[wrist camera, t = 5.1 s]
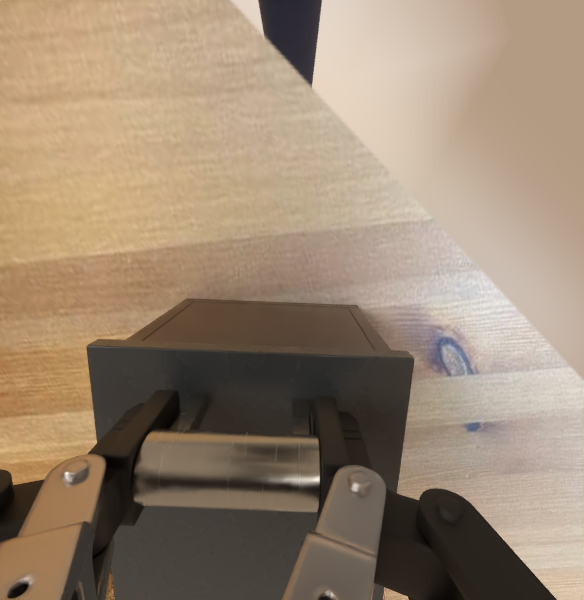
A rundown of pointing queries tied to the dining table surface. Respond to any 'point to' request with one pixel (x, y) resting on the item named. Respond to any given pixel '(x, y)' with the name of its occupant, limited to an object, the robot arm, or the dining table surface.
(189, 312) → the bin
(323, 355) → the bin lid
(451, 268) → the dining table surface
